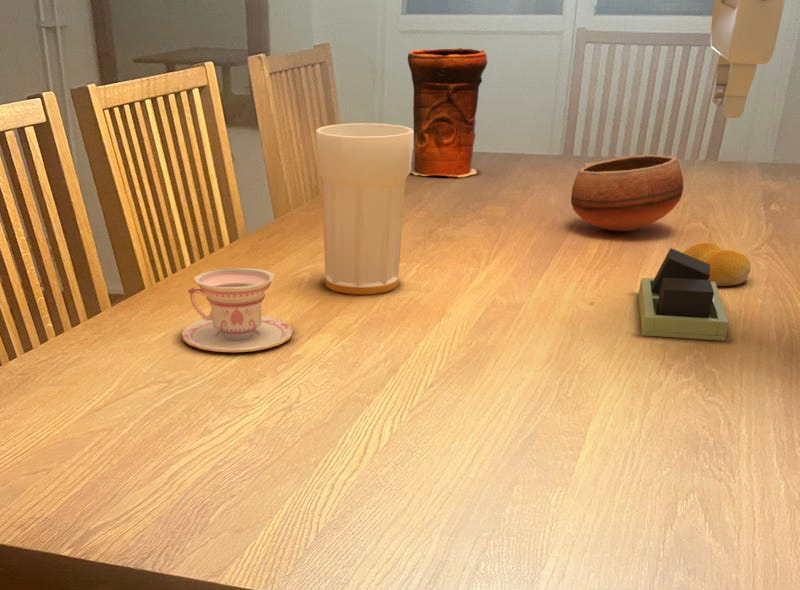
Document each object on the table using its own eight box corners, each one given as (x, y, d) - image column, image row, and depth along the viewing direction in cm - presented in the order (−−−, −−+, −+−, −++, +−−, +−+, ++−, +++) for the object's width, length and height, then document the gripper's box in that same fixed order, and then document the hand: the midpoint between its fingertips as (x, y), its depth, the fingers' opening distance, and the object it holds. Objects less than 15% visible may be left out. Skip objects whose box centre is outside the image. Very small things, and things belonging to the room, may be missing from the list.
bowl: (570, 215, 153) (580, 145, 147) (673, 221, 149) (687, 149, 143) (563, 238, 140) (573, 162, 135) (675, 244, 137) (690, 167, 131)
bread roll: (721, 291, 117) (728, 257, 115) (662, 275, 123) (668, 243, 121) (762, 280, 121) (771, 247, 119) (703, 265, 127) (710, 233, 125)
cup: (420, 279, 123) (429, 126, 113) (382, 302, 115) (387, 139, 105) (342, 268, 127) (344, 120, 117) (300, 289, 119) (297, 132, 109)
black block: (701, 316, 108) (710, 279, 105) (705, 330, 104) (714, 292, 101) (655, 313, 109) (662, 277, 106) (657, 327, 105) (664, 289, 102)
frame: (711, 298, 115) (715, 281, 114) (724, 341, 102) (729, 322, 101) (638, 294, 117) (641, 277, 115) (642, 335, 104) (645, 316, 103)
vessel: (400, 178, 179) (405, 53, 168) (405, 165, 191) (410, 47, 179) (478, 179, 178) (488, 53, 166) (478, 166, 189) (488, 47, 178)
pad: (692, 297, 114) (710, 264, 111) (691, 309, 110) (710, 275, 107) (653, 280, 114) (670, 247, 112) (650, 291, 110) (668, 258, 108)
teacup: (274, 315, 111) (272, 259, 107) (307, 347, 101) (306, 287, 98) (172, 326, 108) (166, 269, 104) (195, 360, 98) (190, 298, 95)
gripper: (820, -67, 77) (774, 126, 85) (783, -63, 94) (747, 99, 102) (738, -66, 79) (700, 124, 87) (715, -62, 95) (685, 98, 103)
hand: (725, 110), depth 94 cm, fingers open, 8 cm apart
